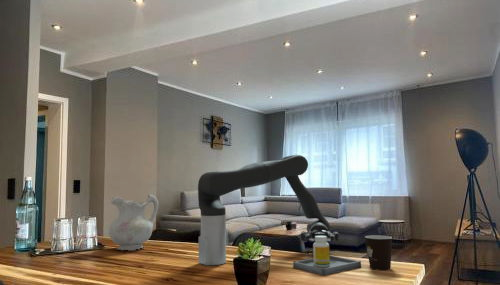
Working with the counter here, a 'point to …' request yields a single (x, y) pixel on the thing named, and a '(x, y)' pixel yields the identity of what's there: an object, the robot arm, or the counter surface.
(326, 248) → the supplement bottle
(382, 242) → the coffee mug
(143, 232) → the ceramic pitcher
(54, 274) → the counter surface
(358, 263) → the tray
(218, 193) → the robot arm
